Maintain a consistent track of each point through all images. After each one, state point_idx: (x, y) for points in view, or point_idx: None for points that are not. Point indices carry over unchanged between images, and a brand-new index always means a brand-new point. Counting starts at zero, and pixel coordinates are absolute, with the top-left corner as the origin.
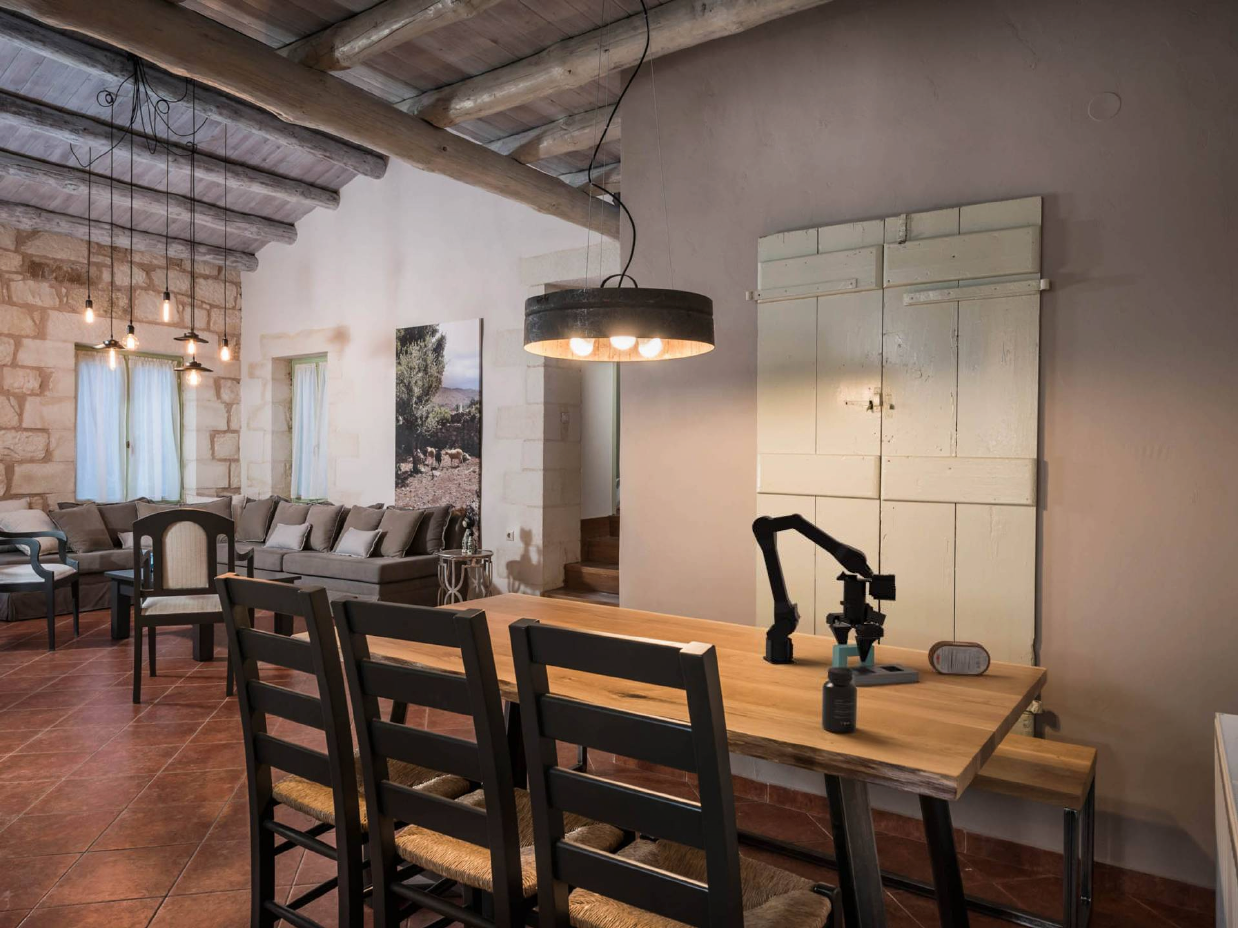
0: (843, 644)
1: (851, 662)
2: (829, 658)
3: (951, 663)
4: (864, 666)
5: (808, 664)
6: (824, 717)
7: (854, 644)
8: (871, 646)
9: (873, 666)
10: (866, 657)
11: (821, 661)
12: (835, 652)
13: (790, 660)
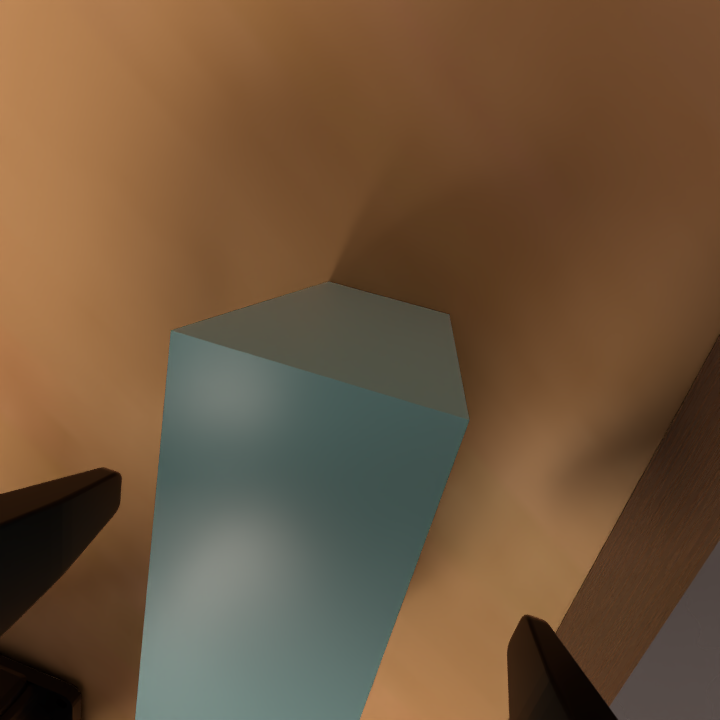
0: (10, 579)
1: (173, 328)
2: (16, 394)
3: None
4: (632, 714)
5: (130, 645)
6: None
7: (177, 653)
8: (436, 487)
9: (713, 650)
10: (587, 689)
11: None
12: None
13: (54, 706)
